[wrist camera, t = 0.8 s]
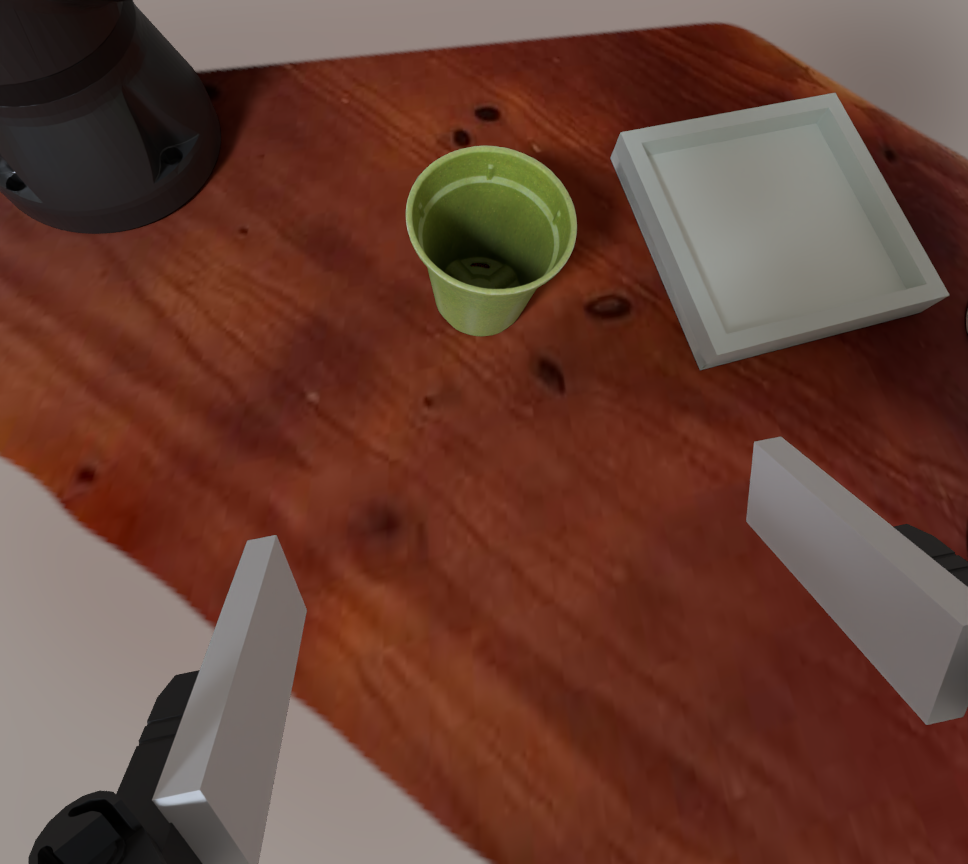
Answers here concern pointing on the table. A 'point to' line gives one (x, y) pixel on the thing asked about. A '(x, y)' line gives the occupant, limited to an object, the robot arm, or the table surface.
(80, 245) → the table surface
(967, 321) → the teacup with lid
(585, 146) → the table surface
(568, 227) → the plant pot
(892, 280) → the tray
